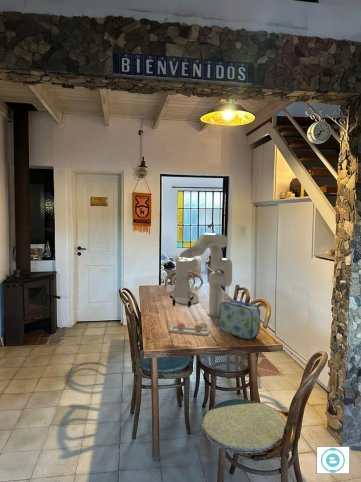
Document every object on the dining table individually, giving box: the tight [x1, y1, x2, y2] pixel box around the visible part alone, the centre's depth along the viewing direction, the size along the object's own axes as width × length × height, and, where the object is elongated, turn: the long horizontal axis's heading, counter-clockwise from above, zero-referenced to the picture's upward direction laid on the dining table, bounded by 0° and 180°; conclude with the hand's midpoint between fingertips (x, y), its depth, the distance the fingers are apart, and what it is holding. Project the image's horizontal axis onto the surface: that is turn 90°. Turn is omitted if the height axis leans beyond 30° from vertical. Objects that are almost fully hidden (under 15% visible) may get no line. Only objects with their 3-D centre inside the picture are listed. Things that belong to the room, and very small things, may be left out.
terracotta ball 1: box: [176, 322, 186, 330], centre depth 209 cm, size 5×5×5 cm
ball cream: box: [199, 320, 208, 329], centre depth 214 cm, size 5×5×5 cm
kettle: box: [175, 280, 200, 305], centre depth 285 cm, size 20×21×18 cm
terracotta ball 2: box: [194, 323, 202, 332], centre depth 207 cm, size 5×5×5 cm
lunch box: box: [218, 298, 261, 340], centre depth 205 cm, size 26×11×21 cm, turn 45°
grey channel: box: [168, 325, 211, 337], centre depth 208 cm, size 8×24×2 cm, turn 76°
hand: (181, 306), depth 209 cm, fingers open, 9 cm apart
